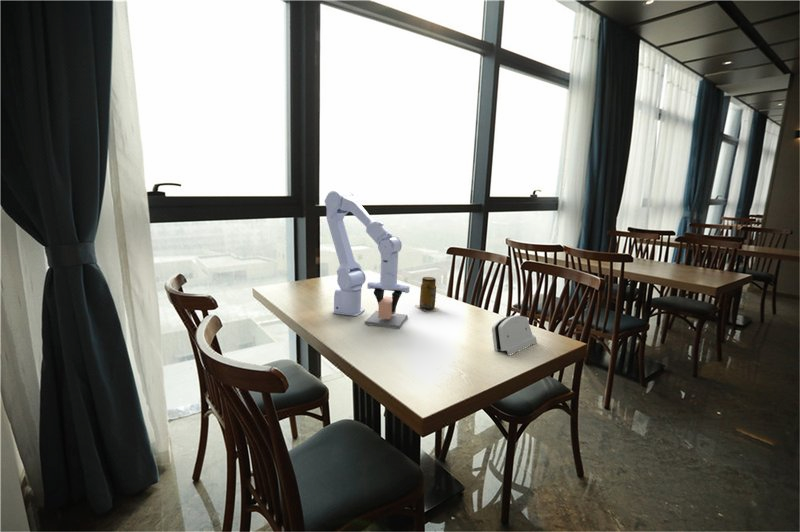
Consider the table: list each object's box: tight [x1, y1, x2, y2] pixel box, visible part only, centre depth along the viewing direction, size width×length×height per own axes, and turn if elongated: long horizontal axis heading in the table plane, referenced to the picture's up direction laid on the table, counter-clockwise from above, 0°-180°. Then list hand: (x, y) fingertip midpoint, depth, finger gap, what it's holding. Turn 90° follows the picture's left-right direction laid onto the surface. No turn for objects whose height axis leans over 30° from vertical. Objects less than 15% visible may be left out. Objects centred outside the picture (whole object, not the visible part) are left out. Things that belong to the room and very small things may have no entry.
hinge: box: [491, 315, 538, 356], centre depth 116 cm, size 17×5×10 cm, turn 133°
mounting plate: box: [364, 310, 408, 330], centre depth 133 cm, size 12×12×1 cm
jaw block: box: [377, 295, 397, 319], centre depth 132 cm, size 4×8×6 cm, turn 166°
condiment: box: [415, 276, 441, 313], centre depth 149 cm, size 7×8×12 cm
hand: (387, 310), depth 132 cm, fingers closed on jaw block, 4 cm apart
